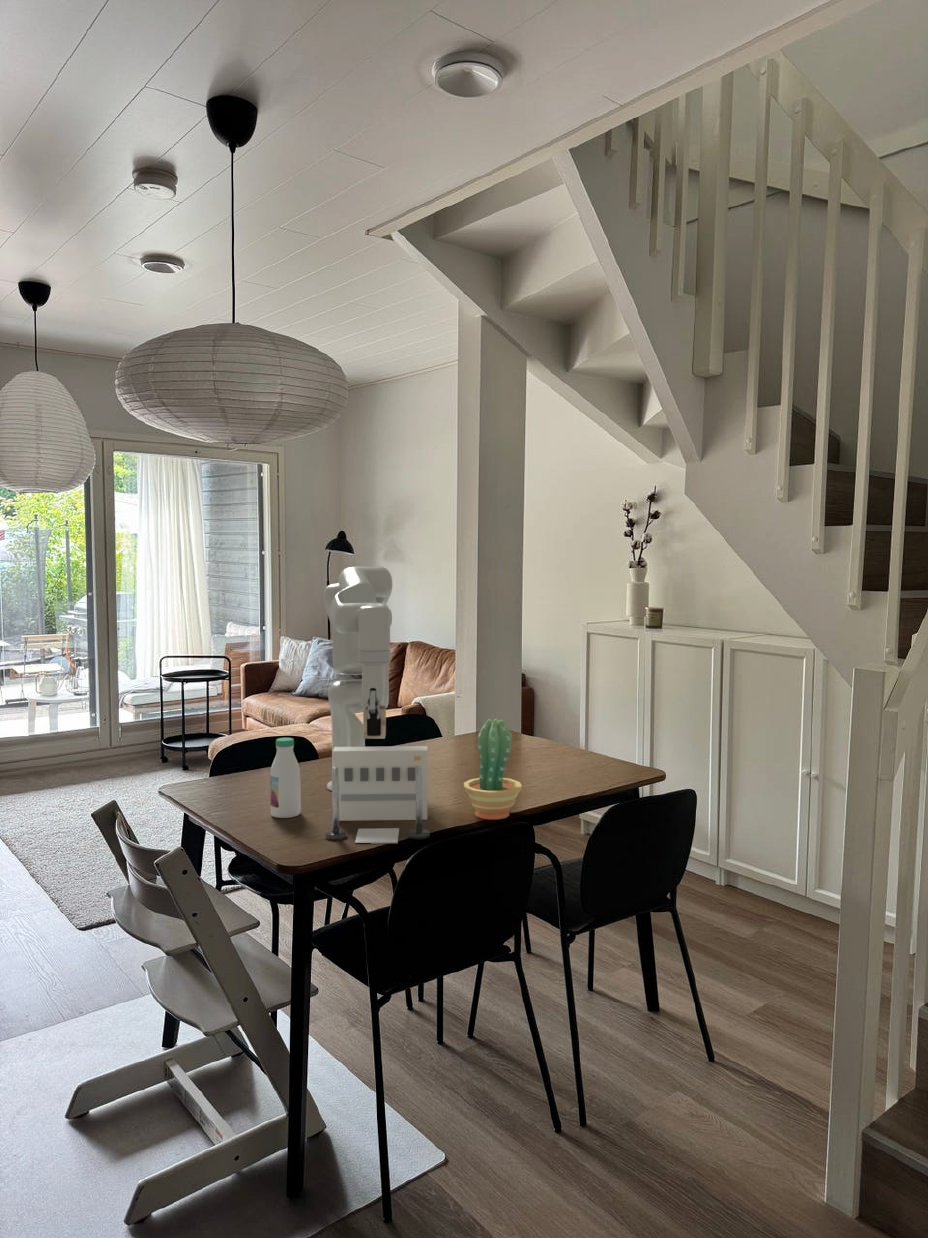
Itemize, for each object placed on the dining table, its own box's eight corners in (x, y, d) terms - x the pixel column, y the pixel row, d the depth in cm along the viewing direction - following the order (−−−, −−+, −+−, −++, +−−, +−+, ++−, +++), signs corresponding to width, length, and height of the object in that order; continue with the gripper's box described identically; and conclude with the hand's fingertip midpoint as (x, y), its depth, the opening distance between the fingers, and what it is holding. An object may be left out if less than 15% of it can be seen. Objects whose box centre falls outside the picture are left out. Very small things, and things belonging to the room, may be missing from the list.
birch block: (365, 734, 208) (364, 705, 207) (385, 734, 208) (385, 705, 207) (363, 738, 203) (363, 709, 202) (384, 738, 203) (384, 709, 202)
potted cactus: (533, 813, 226) (534, 719, 224) (496, 827, 214) (496, 728, 213) (488, 802, 236) (489, 712, 234) (450, 815, 225) (450, 720, 223)
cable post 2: (409, 833, 210) (408, 764, 209) (429, 832, 210) (429, 764, 209) (408, 839, 205) (408, 769, 204) (429, 839, 205) (429, 769, 204)
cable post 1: (326, 834, 209) (325, 765, 208) (347, 833, 209) (346, 764, 208) (324, 840, 204) (323, 770, 203) (345, 840, 204) (344, 770, 203)
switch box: (335, 815, 225) (334, 746, 223) (427, 813, 226) (427, 746, 224) (333, 821, 219) (332, 752, 218) (427, 820, 220) (427, 751, 219)
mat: (358, 830, 212) (358, 828, 212) (399, 829, 212) (399, 828, 212) (355, 843, 202) (354, 842, 202) (397, 843, 202) (397, 841, 202)
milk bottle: (303, 810, 229) (302, 735, 228) (298, 818, 221) (297, 742, 220) (273, 810, 229) (272, 736, 227) (268, 819, 221) (267, 742, 220)
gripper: (361, 653, 212) (362, 726, 214) (355, 661, 195) (355, 740, 197) (391, 653, 213) (392, 726, 214) (388, 661, 196) (388, 740, 197)
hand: (374, 732), depth 205 cm, fingers closed on birch block, 5 cm apart
